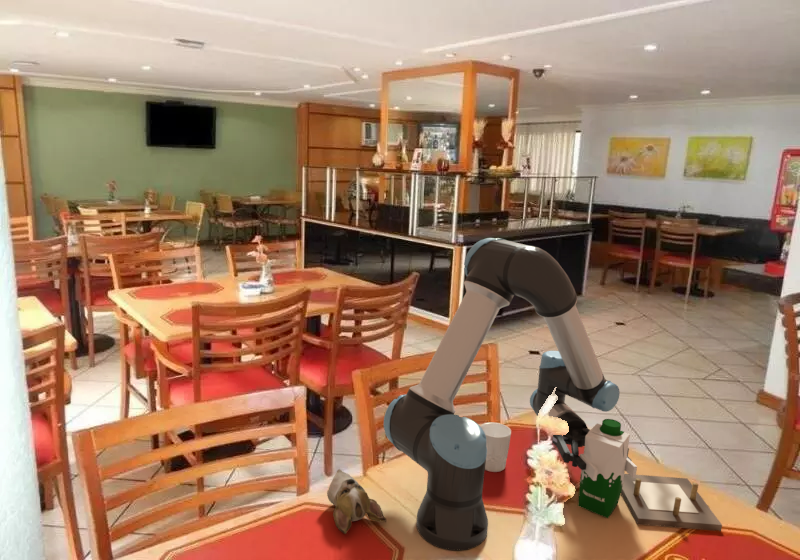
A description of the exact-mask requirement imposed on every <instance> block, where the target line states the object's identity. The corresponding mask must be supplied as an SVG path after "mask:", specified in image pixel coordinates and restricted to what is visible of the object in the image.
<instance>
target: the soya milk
mask: <svg viewBox="0 0 800 560" xmlns="http://www.w3.org/2000/svg"><path fill="white" fill-rule="evenodd" d="M621 427H622V424H621V422H620V421H618V420H616V419H613V418H604V419H603V420H602V422H601V424H600V423H596V424H595V425H594V426H592V427H591V429H589V430H590V431H589V432H588V434H587V435H586V436H585V446H584V449H583V454H584V455H585V457H586V458H587V460H588V461H589V462H591V463H592V464H593V465H594V466H595V467H596V468H597V469H598V473H597V480H596V481H593V480H592V479H591V478H590V477H589V476H588V475H587V473H586V472H585V471H584V470H581V469H580V479H579V488H578V489H579V490H578V498H577V499H578V500H577V501H578V502H577V507H580V508H582V509H584V510H587V511H589V512H591V513H594V514H596V515H599V516H601V517H604V518H605V519H609V518H610V516H611V515H612V513H613V512H614V511H615V508H616V507H617V506H618V504H619V501H620V497H621V496H622V494H621V491H622V486H623V479H624V474H626V471H625V466H626V459H627V452H628V448H629V445H630V444H629V443H630V436H631V434H630V433H627V432H625V431H623V430H621V429H622V428H621ZM628 453H629V452H628Z"/></svg>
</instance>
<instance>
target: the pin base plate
mask: <svg viewBox="0 0 800 560" xmlns="http://www.w3.org/2000/svg"><path fill="white" fill-rule="evenodd" d="M698 489H699V484H698V483H697V482H691V481H690V480H689V479H688V478H685V477H673V476H660V475H646V474H645V475H644V474H636V477H634V478H632V477H631V476H630V475H629V474H628V473H624V479H623V486H622V491H621V496H622V499H623V501H624V502H625V504H626V506H627V507H628V510H629V511H630V513H631V516H632V517H633V519H634V520H635V523H636V525H641V526H653V527H665V528H678V529H692V530H703V531H704V530H705V531H715V530H719V531H718V532H722V528H723V524H722V523H721V521H720V520H719V518H718V517H717V516H716V515H715V513H714V512H713V511H712V509H711V508H710V507H709V505H708V504H707V503H706V501H705V499H704V498H703V497H702V496H701V495H700V494H699V491H698Z"/></svg>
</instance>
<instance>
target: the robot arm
mask: <svg viewBox="0 0 800 560" xmlns="http://www.w3.org/2000/svg"><path fill="white" fill-rule="evenodd" d="M463 264H464V266H465V267H464V268H463V270H464V274H465V276H466V278H465V279H464V282H463V285H464V288H465V291H466V292H465V294H464V295H463V298H462V300H461V302H460V304H459V305H458V308H457V309H456V311H455V313H454V316H453V318H452V319H451V322H450V323H449V325H448V327H447V329H446V331H445V333H444V335H443V336H442V339H441V340H440V343H439V344H438V347H437V348H436V351H435V352H434V354H433V356H432V358H431V360H430V362H429V364H428V366H427V367H426V369H425V372H424V374H423V376H422V378H421V380H420V382H419V383H418V384H416V385H413V386H410V387H409V388H408V391H407V393H406V394H400V395H398V396H397V398H394V399H393V400H392V401H391V402H390V403H389V404H388V407H387V408H386V411H385V413H384V416H383V430H384V434H385V436H386V438H387V439H388V441H389V442H390V443H391V444H393V446H394V447H395V448H396V449H397V450H398V451H400V452H402V453H403V454H405V456H408V458H410V459H411V460H413V462H415V463H416V464H417V465H418V466H420V467H422V469H424V470H425V471H426V472H427V481H426V484H427V485H426V492H425V493H424V497H423V498H422V501H421V502H420V505H419V508H418V510H417V514H416V522H415V523H416V529H417V532H418V534H419V535H420V536H421V537H422V538H423V540H425V541H426V542H428V543H429V544H431V545H432V546H435V547H437V548H440V549H444V550H448V551H466V550H471V549H473V548H476V547H478V546H479V545H481V544H482V543H483V542H484V541H485V540H486V538H487V534H488V529H489V528H488V527H489V519H488V516H487V512H486V508H485V504H484V501H483V489H484V483H485V482H484V481H485V471H486V470H485V463H486V456H487V447H486V435H485V433H484V431H483V429H482V428H481V427H480V426H481V425H480V424H478V423H477V422H476V421H474V420H473V419H471V418H469V417H466V416H460V415H459V414H455V413H456V410H455V406H454V400H455V398H456V396H457V394H458V392H459V390H460V388H461V386H462V384H463V382H464V381H465V378H466V376H467V374H468V373H469V371H470V368H471V367H472V365H473V362H474V360H475V358H476V357H477V355H478V354H479V350H480V349H481V347H482V344H483V342H484V341H485V339H486V337H487V335H488V332H489V331H490V329H491V327H492V325H493V323H494V321H495V319H496V317H497V315H498V314H499V311H500V309H502V308H505V307H508V306H510V304H511V302H512V300H513V298H514V296H515V297H519V298H522V299H523V300H526V301H527V302H529V303H530V304H531V305H532V306H533V309H534V311H535V313H536V314H537V315H538V316H539V317H541V318H543V320H544V321H545V324H546V327H547V329H548V330H549V333H550V335H551V337H552V340H553V341H554V344H555V346H556V349H557V350H547V351H545V352H543V353H542V354H541V357H540V362H539V363H540V364H539V371H538V380H537V381H538V382H537V388H536V389H535V390H534V391H533V392H532V394H530V397H529V403H530V404H529V405H530V407H531V408H532V410H533V412H534V413H535V414H536V416H537V417H538V413H539V410H540V409H541V407H542V406H543V404H544V403H545V401H546V399H547V398H548V396H549V395H551V394H552V392H553V390H554V388H555V387H557V388H556V391H555V394H556V395H557V396H558V400H557V401H556V403H555V404H554V406H553V407H552V409H551V410H550V412H549V416H553V417H558V418H561V419H562V420H565V421H567V423H568V426H569V432H568V433H567V434H566V435H563V436H562V435H553V434H552V440H551V443H552V444H553V445H555V446H556V448H557V450H558V452H559V454H560V456H561V458H562V460H563V462H564V463H565V464H569V463H571V466H572V467H574V468H577V467H578V468H579V469H580V471H581V470H584V471H585V472H586V473H587V475H588V476H589V477H590V478H591V479H592V480H593V481H596V480H597V473H598V469H597V468H596V467H595V466H594V465H593V464H592V463H591V462H589V461H588V460H587V458H586V457H585V455H584V453H580V452H579V450H580V449H579V448H582V447H585V436H586V435H587V434H588V432H589V431H590V430H591V429H589V428H588V425H587V423H586V422H585V420H583V418H581V417H580V415H578V414H577V413H576V411H574V410H573V409H572V408H571V407H569V405H567V403H565V402H566V396H568V397H570V398H571V399H572V398H573V399H574V400H576V401H579V402H580V403H583V404H585V405H587V406H589V407H591V408H592V409H597V410H598V411H600V412H606V413H607V412H610V411H612V410H613V409H614V407H615V406H616V405H617V404H618V401H619V398H620V392H621V391H620V388H619V386H618V385H617V384H616V383H614V382H612V381H611V380H607V379H606V377H605V375H604V373H603V371H602V370H603V369H602V368H601V365H600V363H599V360H598V358H597V355H596V352H595V351H594V348H593V345H592V343H591V341H590V338H589V335H588V332H587V330H586V328H585V325H584V322H583V320H582V318H581V315H580V312H579V310H578V308H577V305H576V304H577V302H578V295H577V293H576V290H575V287H574V285H573V283H572V282H571V279H570V277H569V275H568V274H567V273H566V271H565V270H564V268H562V266H561V265H560V263H559V262H558V260H556V259H555V258H554V257H553V256H552V255H551V254H550V253H549V252H547V251H546V250H544V249H542V248H540V247H538V246H534V245H528V244H525V243H524V244H523V243H520V242H519V243H518V242H515V241H511V240H507V239H506V238H505V239H504V238H499V237H497V238H494V237H487V238H484V239H480V240H479V241H476V243H474V244H473V245H472V246H471V247H470V248H469V250H468V251H467V254H466V255H465V259H464V263H463ZM568 445H570V449H569V447H568ZM629 450H630V448H629V447H628V452H627V459H626V466H625V473H626V474H629V475H630V476H631V477H632V478H634V477H636V475H637V468H638V466H637V465H636V464H635V463H634V462H633V461H632V458H630V457H629Z"/></svg>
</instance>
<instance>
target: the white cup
mask: <svg viewBox="0 0 800 560" xmlns="http://www.w3.org/2000/svg"><path fill="white" fill-rule="evenodd" d="M479 426H480V427H481V428H482V429H483V431H484V433H485V435H486V447H487V456H486V463H485V471H488V472H493V473H497V472H501V471H503V470H505V468H506V465H507V458H508V455H509V450H510V443H511V435H512V429H511V428H510V427H509V426H508V425H505V424H503V423H499V422H491V421H490V422H484V423H482V424H481V425H479Z"/></svg>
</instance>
